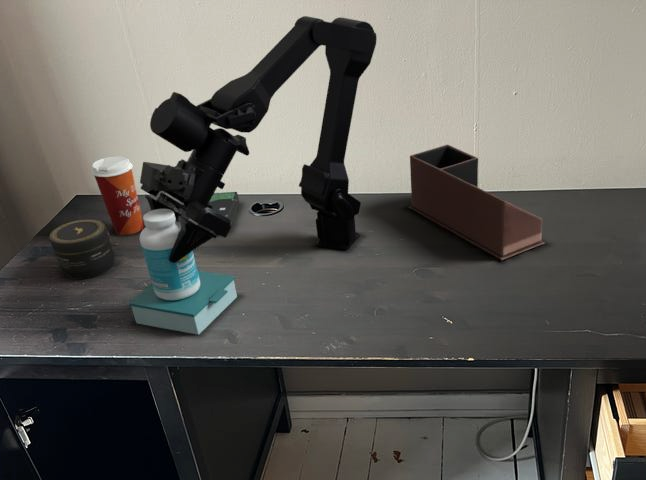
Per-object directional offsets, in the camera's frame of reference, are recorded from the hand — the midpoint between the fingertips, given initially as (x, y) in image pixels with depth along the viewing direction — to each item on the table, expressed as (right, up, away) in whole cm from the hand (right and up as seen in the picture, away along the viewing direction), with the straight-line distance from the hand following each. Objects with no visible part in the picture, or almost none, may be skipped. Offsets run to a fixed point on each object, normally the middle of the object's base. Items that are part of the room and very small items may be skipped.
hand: (159, 253), depth 115 cm
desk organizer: (+52, +9, +28) cm, 60 cm away
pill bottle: (+1, -5, +5) cm, 8 cm away
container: (+2, -8, +8) cm, 12 cm away
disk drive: (-1, +12, +36) cm, 38 cm away
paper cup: (-17, +10, +34) cm, 40 cm away
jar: (-20, 0, +22) cm, 29 cm away
